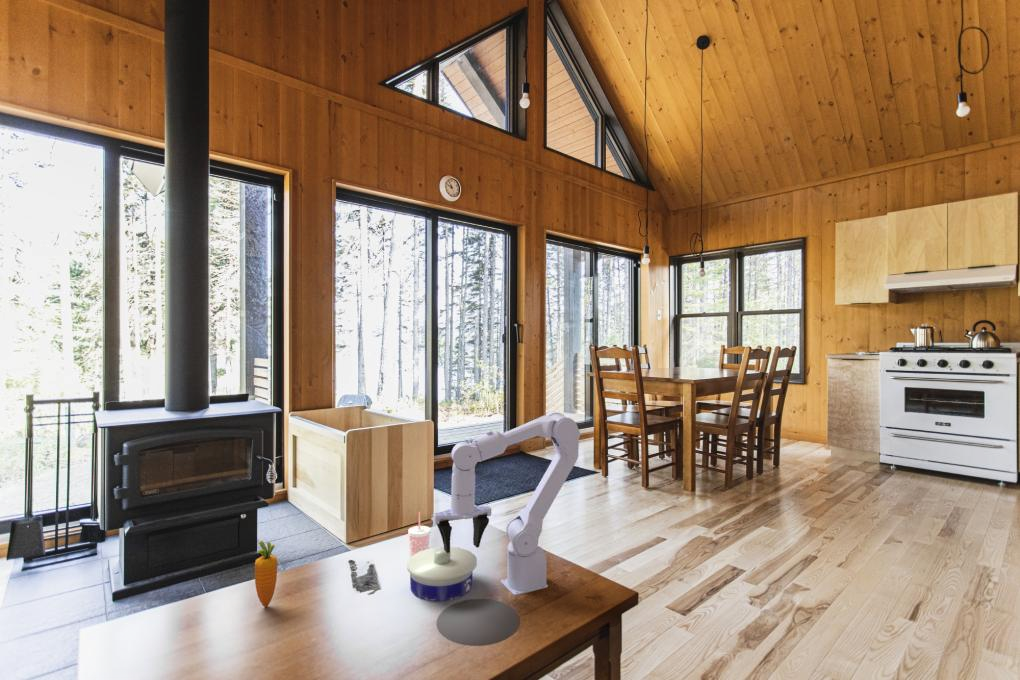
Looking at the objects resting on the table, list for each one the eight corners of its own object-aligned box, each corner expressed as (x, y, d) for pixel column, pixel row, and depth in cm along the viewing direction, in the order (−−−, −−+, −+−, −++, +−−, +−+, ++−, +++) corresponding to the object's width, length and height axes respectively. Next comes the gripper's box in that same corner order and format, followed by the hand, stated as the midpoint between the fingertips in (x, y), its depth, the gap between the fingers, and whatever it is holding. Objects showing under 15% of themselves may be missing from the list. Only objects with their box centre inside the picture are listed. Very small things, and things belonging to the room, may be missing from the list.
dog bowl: (462, 607, 115) (463, 581, 115) (399, 600, 118) (400, 575, 118) (479, 576, 130) (479, 553, 130) (422, 571, 133) (423, 548, 133)
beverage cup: (405, 560, 139) (405, 509, 139) (426, 556, 142) (426, 506, 142) (411, 569, 134) (411, 516, 134) (433, 564, 137) (433, 513, 137)
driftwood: (382, 597, 121) (382, 588, 121) (352, 602, 118) (352, 593, 118) (374, 562, 140) (374, 554, 140) (348, 566, 138) (348, 558, 138)
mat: (497, 594, 121) (497, 592, 121) (534, 633, 105) (535, 631, 105) (425, 611, 113) (425, 610, 113) (453, 657, 97) (453, 655, 97)
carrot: (281, 606, 115) (281, 541, 115) (258, 615, 111) (259, 547, 111) (272, 599, 118) (273, 535, 118) (250, 607, 114) (250, 541, 114)
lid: (462, 545, 135) (462, 533, 135) (487, 571, 120) (487, 558, 120) (399, 557, 128) (399, 544, 128) (418, 586, 113) (418, 572, 113)
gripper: (440, 501, 116) (438, 560, 116) (497, 493, 122) (495, 549, 122) (430, 492, 122) (429, 548, 122) (485, 486, 128) (484, 539, 128)
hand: (461, 548), depth 122 cm, fingers open, 7 cm apart
